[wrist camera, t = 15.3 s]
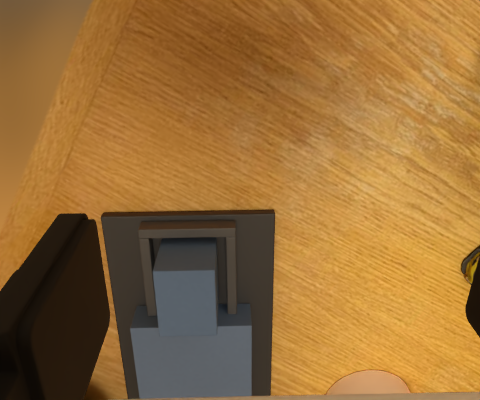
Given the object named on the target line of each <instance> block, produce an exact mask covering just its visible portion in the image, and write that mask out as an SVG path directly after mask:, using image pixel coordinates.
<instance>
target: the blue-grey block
mask: <svg viewBox="0 0 480 400" xmlns="http://www.w3.org/2000/svg"><path fill="white" fill-rule="evenodd" d="M153 281H154V290H155V300H156V310H157V319H158V329H159V336H160V337H172V336H216V335H217V328H218V300H219V293H218V264H217V238H216V237H207V238H162V240H161V244H160V247H159V251H158V254H157V258H156V262H155V265H154V269H153Z"/></svg>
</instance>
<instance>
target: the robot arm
mask: <svg viewBox="0 0 480 400" xmlns="http://www.w3.org/2000/svg"><path fill="white" fill-rule="evenodd" d="M466 317H467V319H468V321H469V323H470V324H471V326H472V327H473V329H474V330H475V331H476V333H477V334H478V336H479V337H480V256H479V260H478V263H477V267H476V271H475V274H474V278H473V282H472V285H471V289H470V293H469V296H468V300H467V304H466ZM109 322H110V310H109V303H108V297H107V290H106V284H105V277H104V271H103V264H102V257H101V251H100V244H99V238H98V231H97V225H96V222H95V220H94V219H90V220H88V217H87V215H86V214H59V215H58V216H57V217H56V219H55V220H54V222H53V223H52V224H51V226H50V227H49V228H48V230H47V231H46V233H45V234H44V235H43V237H42V238H41V239H40V241H39V242H38V243H37V245H36V246H35V248H34V249H33V250H32V252H31V253H30V254H29V256H28V257H27V259H26V260H25V261H24V263H23V264H22V265H21V267H20V268H19V270H17V271H15V272H14V273H13V275H12V276H11V277H10V279H9V280H8V281H7V283H6V284H5V285H4V287H3V288H2V289H1V291H0V400H83V399H84V396H85V393H86V391H87V388H88V385H89V382H90V379H91V376H92V373H93V370H94V367H95V365H96V362H97V359H98V356H99V353H100V350H101V347H102V344H103V341H104V338H105V336H106V333H107V330H108V327H109ZM110 400H480V392H445V393H393V394H338V395H283V396H234V397H193V398H151V399H110Z"/></svg>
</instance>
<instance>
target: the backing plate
mask: <svg viewBox="0 0 480 400" xmlns="http://www.w3.org/2000/svg"><path fill="white" fill-rule="evenodd" d="M101 221H102V228H103V235H104V241H105V248H106V255H107V261H108V268H109V275H110V281H111V288H112V295H113V301H114V308H115V315H116V321H117V328H118V335H119V341H120V348H121V355H122V361H123V368H124V375H125V381H126V388H127V395H128V399H151V398H193V397H234V396H270V394H271V353H272V313H273V273H274V233H275V212H274V210H241V211H185V212H128V213H103V214H102V216H101ZM207 237H216V238H217V264H218V293H219V300H218V328H217V335H216V336H172V337H160V336H159V329H158V319H157V310H156V300H155V290H154V281H153V269H154V265H155V262H156V258H157V254H158V251H159V247H160V244H161V240H162V238H207Z"/></svg>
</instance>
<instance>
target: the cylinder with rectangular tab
mask: <svg viewBox="0 0 480 400" xmlns="http://www.w3.org/2000/svg"><path fill="white" fill-rule="evenodd" d="M393 393H410V391H409V389H408V387H407V385H406V383H405V382H404V381H402V380H401V379H400V378H399V377H398V376H396V375H394V374H392V373H389V372H385V371H380V370H365V371H360V372H355V373H352V374H350V375H347V376H345V377H343V378H342V379H340V380H339V381H337V382H336V383H335V384H334V385H333V386H332V387H331V388H330V389H329V390H328V392H327V393H326V395H338V394H393Z"/></svg>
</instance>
